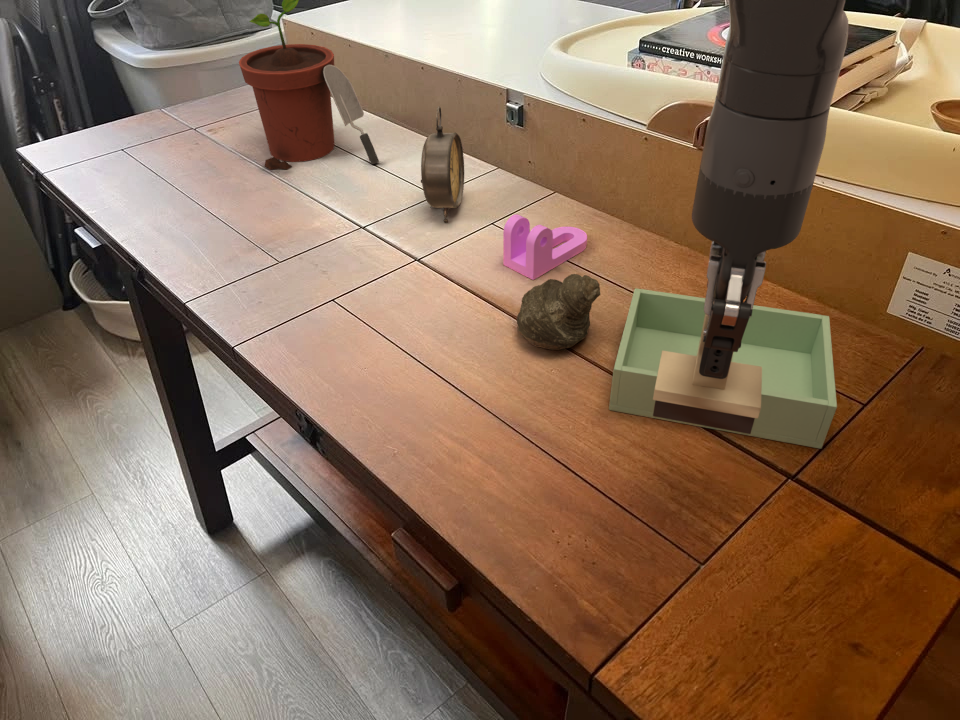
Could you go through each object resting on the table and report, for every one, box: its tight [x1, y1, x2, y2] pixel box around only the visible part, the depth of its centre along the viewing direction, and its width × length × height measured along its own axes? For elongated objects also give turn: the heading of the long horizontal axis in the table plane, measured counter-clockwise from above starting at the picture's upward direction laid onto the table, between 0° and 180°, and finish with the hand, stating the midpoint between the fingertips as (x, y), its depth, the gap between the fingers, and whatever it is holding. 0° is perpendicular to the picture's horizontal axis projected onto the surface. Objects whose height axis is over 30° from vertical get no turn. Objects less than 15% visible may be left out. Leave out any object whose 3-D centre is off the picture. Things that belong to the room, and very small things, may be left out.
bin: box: [608, 287, 838, 450], centre depth 83 cm, size 22×16×6 cm
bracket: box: [502, 213, 588, 281], centre depth 105 cm, size 13×6×7 cm, turn 134°
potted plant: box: [238, 0, 380, 171], centre depth 128 cm, size 18×22×25 cm
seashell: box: [516, 273, 601, 351], centre depth 90 cm, size 11×12×10 cm
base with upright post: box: [653, 314, 762, 434], centre depth 62 cm, size 8×5×10 cm, turn 73°
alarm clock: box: [420, 105, 465, 224], centre depth 113 cm, size 11×5×16 cm, turn 171°
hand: (713, 361), depth 62 cm, fingers closed on base with upright post, 2 cm apart
